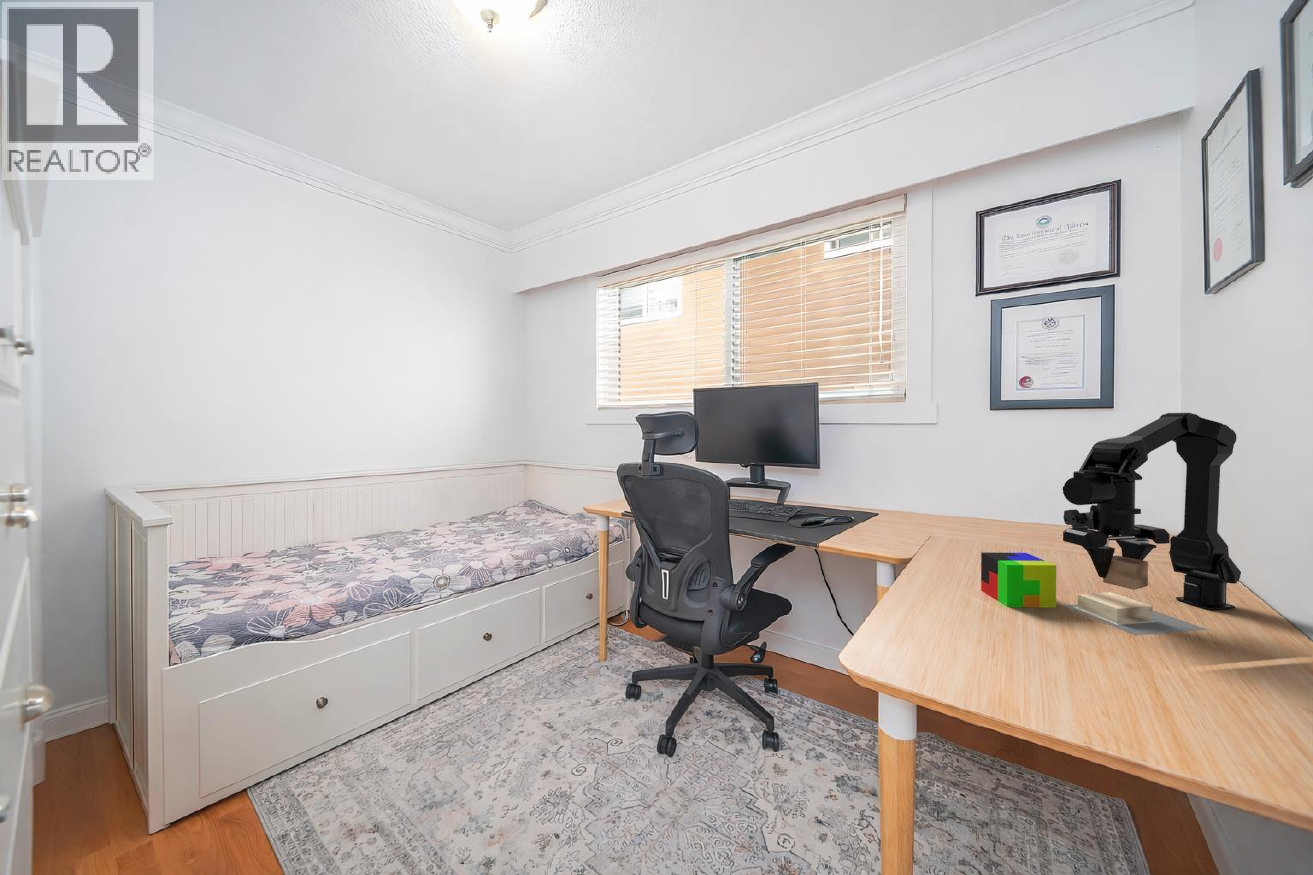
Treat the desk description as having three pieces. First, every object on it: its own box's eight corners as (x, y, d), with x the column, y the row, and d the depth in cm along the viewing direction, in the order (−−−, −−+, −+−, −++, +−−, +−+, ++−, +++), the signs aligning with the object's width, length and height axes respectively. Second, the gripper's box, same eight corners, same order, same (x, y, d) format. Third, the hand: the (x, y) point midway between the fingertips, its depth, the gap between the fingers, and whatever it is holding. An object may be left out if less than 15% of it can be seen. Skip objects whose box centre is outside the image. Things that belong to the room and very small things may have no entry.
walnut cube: (1116, 578, 102) (1116, 555, 102) (1147, 585, 98) (1148, 561, 98) (1103, 582, 100) (1103, 558, 100) (1134, 589, 96) (1134, 564, 96)
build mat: (1125, 603, 108) (1125, 600, 108) (1209, 632, 93) (1209, 629, 93) (1060, 607, 106) (1060, 605, 106) (1135, 638, 92) (1135, 635, 92)
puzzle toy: (1025, 594, 115) (1025, 552, 115) (1055, 610, 105) (1056, 565, 105) (981, 593, 116) (981, 552, 116) (1006, 609, 106) (1007, 564, 106)
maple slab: (1110, 605, 105) (1111, 592, 105) (1152, 620, 98) (1152, 606, 97) (1077, 608, 105) (1078, 594, 105) (1116, 623, 97) (1117, 608, 97)
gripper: (1115, 494, 109) (1114, 562, 110) (1039, 497, 107) (1039, 567, 108) (1172, 502, 98) (1171, 578, 99) (1089, 506, 96) (1089, 584, 97)
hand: (1114, 576), depth 101 cm, fingers closed on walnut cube, 5 cm apart
